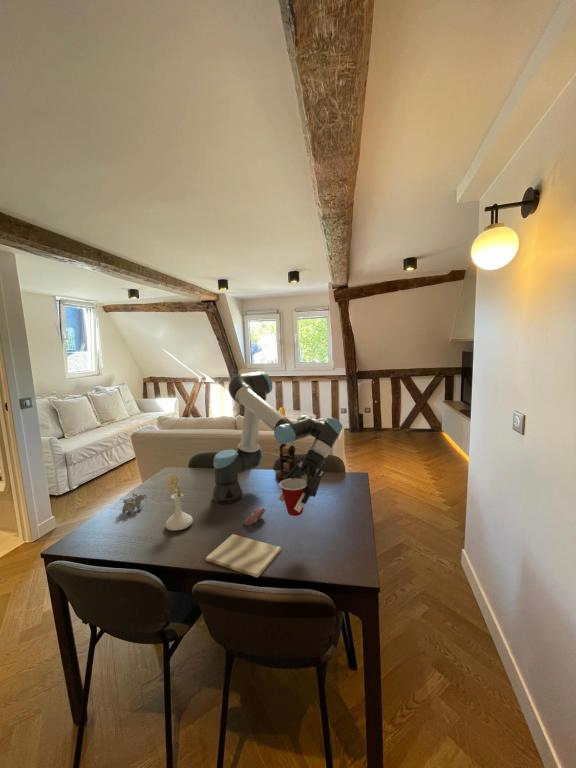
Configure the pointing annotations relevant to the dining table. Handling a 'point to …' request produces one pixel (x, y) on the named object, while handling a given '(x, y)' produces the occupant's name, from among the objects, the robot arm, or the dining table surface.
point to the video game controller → (255, 516)
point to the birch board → (244, 555)
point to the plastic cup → (293, 493)
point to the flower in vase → (177, 507)
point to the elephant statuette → (133, 503)
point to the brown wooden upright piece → (284, 464)
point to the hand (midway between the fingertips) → (288, 505)
